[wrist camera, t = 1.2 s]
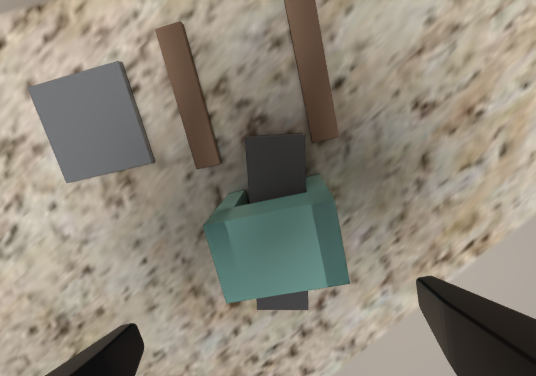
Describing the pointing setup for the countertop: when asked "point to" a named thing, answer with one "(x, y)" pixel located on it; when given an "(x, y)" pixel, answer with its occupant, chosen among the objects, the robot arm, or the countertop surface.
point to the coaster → (92, 122)
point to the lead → (277, 190)
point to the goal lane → (309, 69)
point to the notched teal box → (277, 244)
